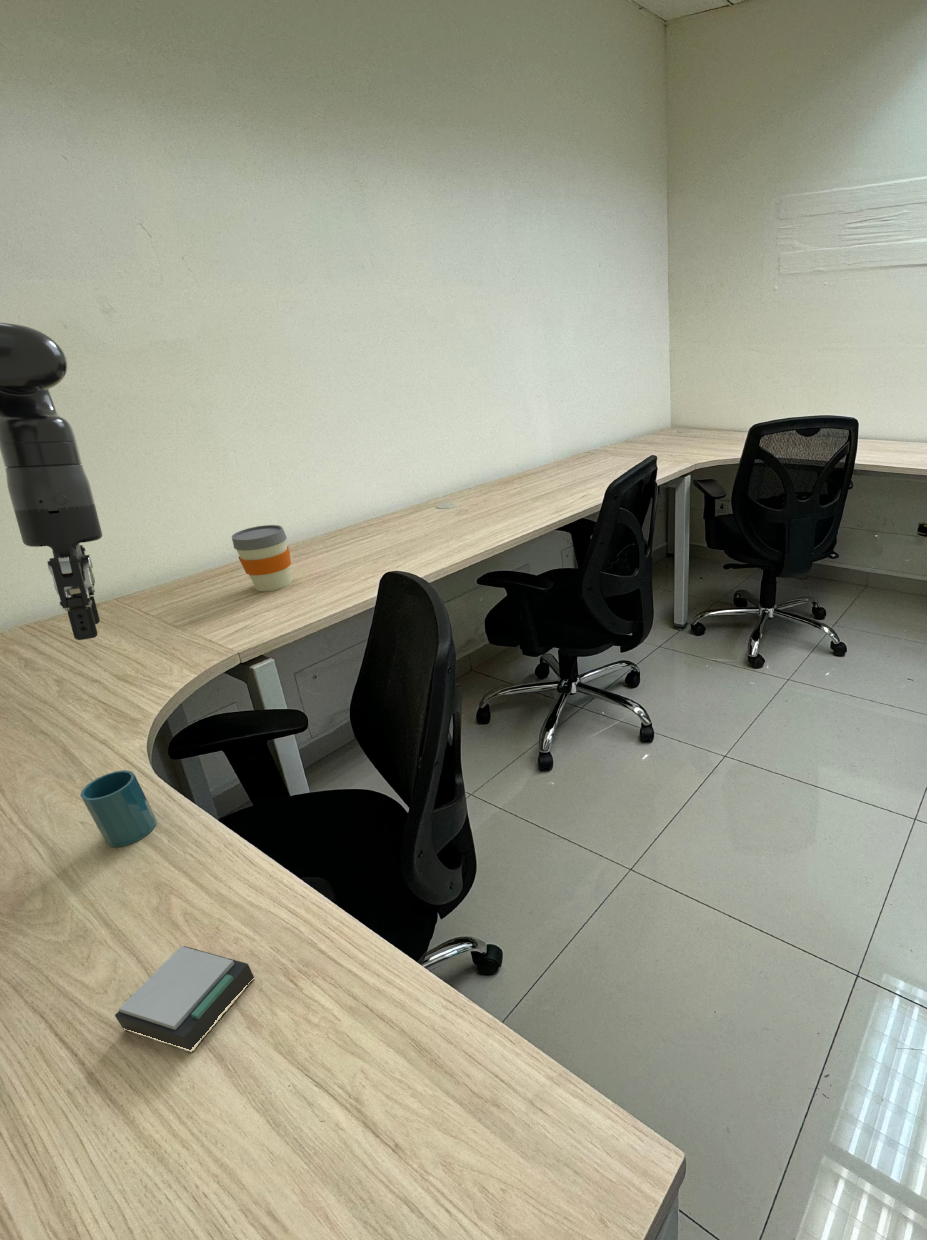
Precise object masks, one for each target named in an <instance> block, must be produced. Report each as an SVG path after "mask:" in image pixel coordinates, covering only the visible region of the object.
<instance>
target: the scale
mask: <svg viewBox="0 0 927 1240" xmlns="http://www.w3.org/2000/svg"><path fill="white" fill-rule="evenodd" d="M253 978H255V976H254V973H253V972H252V968H251V967H250V964H249V963H246V962H243V961H239V960H237V959H236V960H235V959H232V958H229V957H225V956H221V955H218V954H214V953H211V952H208V951H204V950H199V949H196V948H192V947H189V946H186V945H183V946H182V945H180V946H179V947H178V948H177V950H176V951H175V952H174V953H173V954H172V955H171V956H170V957H169V958H168V959H167V960H166V961H165V962H164V963H162V965H160V966H159V967H158V969H157V970H156V971H155V972H153V974H152V975H151V976H150V977H149V978H148V979H147V980H146V981H144V983H143V984H142V985H141V986H140V987H138V989H137V990H136V991H135V992H134V993H133V994H132V995H131V996H130V997H129V998H128V999H127V1000H125V1002H124V1003H123V1004H122V1005H121V1006H120V1007H119V1008H118V1012H116V1013H115V1014H114V1017H115V1019H116V1020H117V1022H118V1024H119V1025H120V1026H121V1028H122V1029H123V1028H125V1029H127V1030H131V1031H134V1032H137V1033H141V1034H143V1035H146V1036H150V1037H152V1038H156V1039H158V1040H161V1041H164V1042H167V1043H171V1044H173V1045H176V1046H180V1047H183V1048H186V1049H189V1050H191V1049H192V1047H194V1045H195V1044H196V1043H197V1042H198V1041H199V1040H200V1038H202V1036H203V1035H205V1033H206V1032H207V1031H208V1030H209V1028H210V1027H211V1026H212V1025H213V1024H214V1022H215V1020H217V1018H218V1016H219V1015H220V1014H221V1013H222V1012H223V1011H224V1010H225V1008H226V1007H227V1006H228V1005H229V1004H230V1003H231V1001H232V1000H233V999H234V998H235V997H236V996H237V995H238V994H239V993H240V992H241V991H242V990H243V988H244V987H245V986H246V985H248V983H249V982H250V981H251V980H252V979H253Z"/></svg>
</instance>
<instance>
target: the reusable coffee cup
mask: <svg viewBox="0 0 927 1240" xmlns="http://www.w3.org/2000/svg"><path fill="white" fill-rule="evenodd" d="M287 539H288V537H287V535H286V532H285V531H284V528H283V526H282V525H280V524H279V525H278V524H265V525H257V526H253V527H248V528H245V529H242V530H239V531H236V532H235V533H233V534H232V536H231V540H232V545H233V549H234V550H236V552H237V554H238V560H239V562H240V564H241V566H242V568H243V570H244V573H246V574H247V575H248V576H249V579H250V580H251V583H252V584H253V586H254V588H255V590H256V591H258V592H273V591H278V590H281V589H283V588H284V589H285V588H286V587H288V586H290V585H291V584H292V583H293V577H292V571H291V565H292V559H291V553H290V548H289V546H287Z"/></svg>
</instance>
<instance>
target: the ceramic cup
mask: <svg viewBox="0 0 927 1240" xmlns="http://www.w3.org/2000/svg"><path fill="white" fill-rule="evenodd" d="M79 796H80V799H81V801H82V802H83V803H84V806H85V807H86V809H87V811H88V813H89V815H90V816H91V819H92V820H93V822H94V824H95V825H96V827H97V829H98V831H99V833H100V834H101V837H102V839H103V840H104V842H105V843H106V845H107V846H109V847H111V848H123V847H126V846H129V845H132V844H134V843H137V842H139V841H140V840H142V839H144V838H145V837H147V836H148V835H150V833H151V832H153V830H154V829H155V828H156V827H157V824H158V823H157V821H158V820H157V818H156V815H155V813H154V811H153V809H152V807H151V805H150V803H149V801H148V799H147V797H146V794H145V793H144V791H143V789H142V786H141V785H140V782H139V781H138V779H137V776H136V775H135V773H134V772H133V771H132V770H127V769H124V770H116V771H111V772H109V773H106V774H103V775H101V776H99V777H97V778H95V779H93V780H92V781H90V782H89V783H87V784H86V785H85V786H84V787H83V788H82V789H81V792H80V794H79Z"/></svg>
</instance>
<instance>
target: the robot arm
mask: <svg viewBox="0 0 927 1240" xmlns="http://www.w3.org/2000/svg"><path fill="white" fill-rule="evenodd" d="M67 371H68V360H67V356H66V354H65V352H64V351H63V349H62V347H60V345H59V344H58V343H57V342H56V341H55V340H54V339H52V337H50V336H48V335H47V334H45V333H43V332H42V331H40V330H37V329H35V328H33V327H29V326H26V325H21V324H15V323H10V322H9V323H8V322H0V455H1V459H2V461H3V466H4V468H5V469H4V470H5V475H6V484H7V490H8V494H9V497H10V502H11V505H12V509H13V511H14V515H15V520H16V522H17V526H18V529H19V533H20V536H21V540H22V543H23V544H24V545H25V546H27V547H34V548H35V547H36V548H39V547H41V548H42V547H48V548H50V549H51V550H52V555H53V556H52V557H50V558H49V560H47V562H46V563H47V566H48V567H47V569H48V571H49V573H50V575H51V576H52V580H53V585H54V586H53V587H54V590H55V592H56V594H57V595H58V597H59V600H60V601H59V606H60V607H62V609H64V611H65V612H67V616H68V619H69V623H70V626H71V627H70V628H71V630H72V634H73V638H74V639H75V640H77V641H83V640H89V639H95V638H96V637H97V636H98V628H97V626H96V625H98V624H99V623H100V621H101V619H100V614H99V610H98V607H97V603H96V599H95V593H96V589H95V587H94V586H95V584H96V581H95V580H96V579H95V575H94V572H93V568H94V565H93V560H92V557H91V554H86V548H85V547H84V545H83V544H81V543H90V542H94V541H98V540H100V539H102V537H103V531H102V528H101V527H102V526H101V524H100V518H99V516H98V512H97V507H96V504H95V499H94V495H93V491H92V487H91V484H90V481H89V479H88V476H87V474H86V471H85V469H84V465H83V462H82V458H81V454H80V450H79V446H78V442H77V439H76V435H75V432H74V430H73V427H72V424H70V422H69V421H68V420H67V419H66V418H64V417H61V415H59V414H58V412H57V409H56V407H55V404H54V401H53V398H52V395H51V393H50V390H49V389H52V388H54V387H55V386H57V385H59V384H60V383H61V382H62V381H63V380H64V378H65V377H66V375H67Z"/></svg>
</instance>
